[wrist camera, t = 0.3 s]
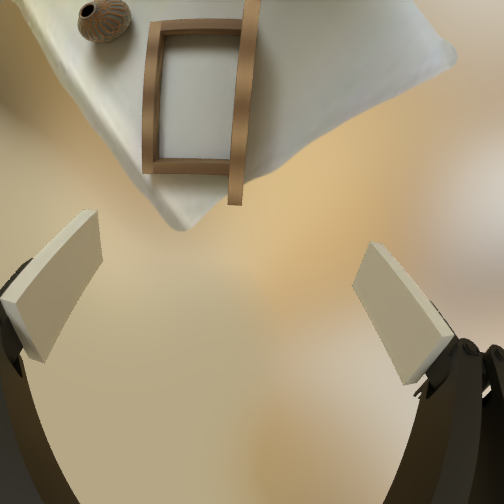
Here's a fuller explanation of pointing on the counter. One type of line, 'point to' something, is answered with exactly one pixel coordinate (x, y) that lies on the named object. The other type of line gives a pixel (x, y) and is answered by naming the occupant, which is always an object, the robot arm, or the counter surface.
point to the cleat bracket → (241, 101)
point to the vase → (103, 20)
